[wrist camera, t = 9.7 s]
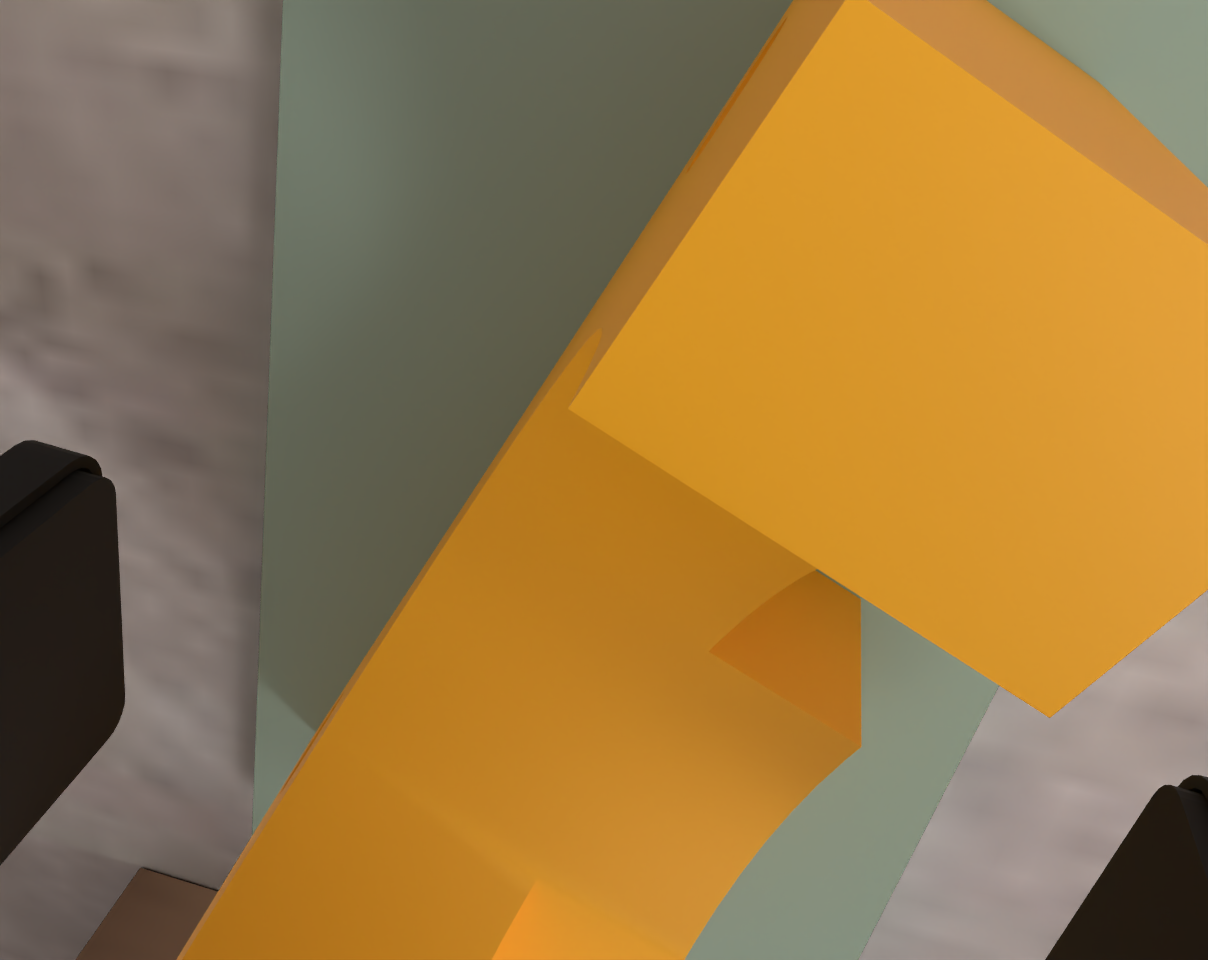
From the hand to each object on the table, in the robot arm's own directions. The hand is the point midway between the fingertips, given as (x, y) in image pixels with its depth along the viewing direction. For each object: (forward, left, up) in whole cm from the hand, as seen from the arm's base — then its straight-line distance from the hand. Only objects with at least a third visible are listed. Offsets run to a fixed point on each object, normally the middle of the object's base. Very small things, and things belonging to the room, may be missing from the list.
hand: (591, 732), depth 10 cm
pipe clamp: (0, 0, -4) cm, 4 cm away
